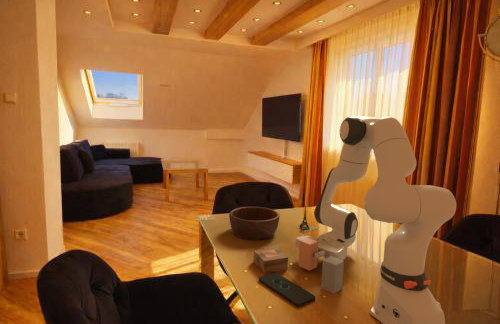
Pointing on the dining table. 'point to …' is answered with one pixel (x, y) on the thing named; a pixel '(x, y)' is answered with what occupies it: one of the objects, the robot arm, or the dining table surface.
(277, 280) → the smart home device
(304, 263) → the terracotta block
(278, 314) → the dining table surface
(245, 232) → the wooden bowl
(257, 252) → the walnut base block
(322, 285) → the grey block
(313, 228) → the eiffel tower figurine
